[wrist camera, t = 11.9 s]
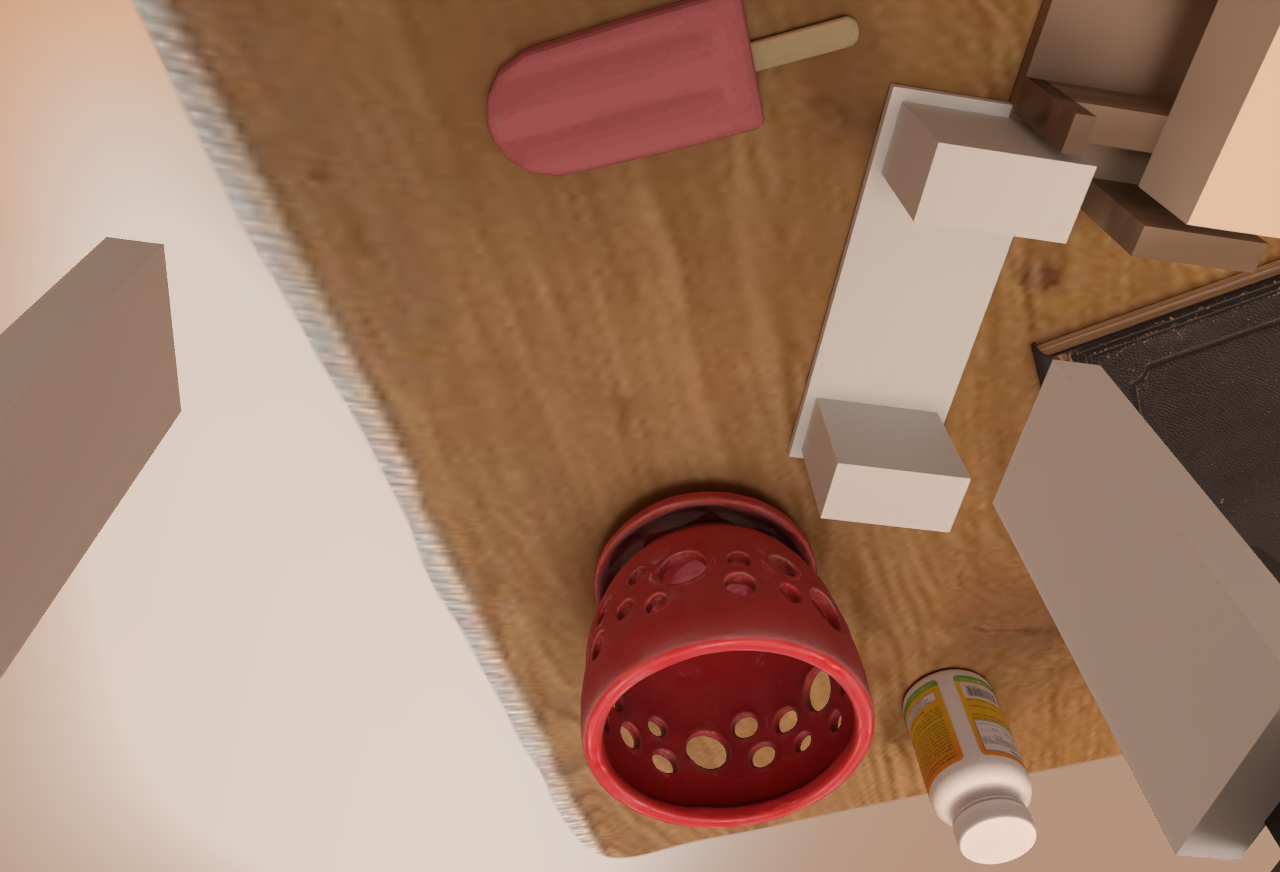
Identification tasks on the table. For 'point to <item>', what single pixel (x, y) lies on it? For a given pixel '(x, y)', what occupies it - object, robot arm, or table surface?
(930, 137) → the stand
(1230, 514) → the hardcover book
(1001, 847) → the supplement bottle
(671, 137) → the popsicle
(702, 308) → the table surface
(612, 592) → the plant pot
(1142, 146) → the rack
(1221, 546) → the robot arm
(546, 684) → the table surface
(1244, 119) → the beige rectangular bar
